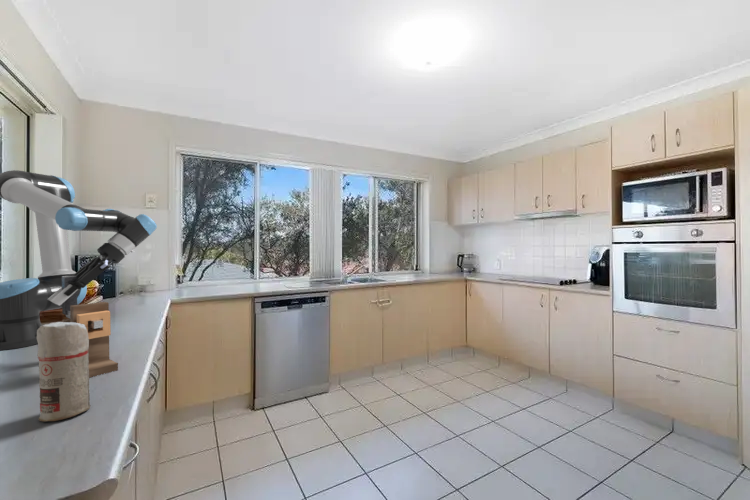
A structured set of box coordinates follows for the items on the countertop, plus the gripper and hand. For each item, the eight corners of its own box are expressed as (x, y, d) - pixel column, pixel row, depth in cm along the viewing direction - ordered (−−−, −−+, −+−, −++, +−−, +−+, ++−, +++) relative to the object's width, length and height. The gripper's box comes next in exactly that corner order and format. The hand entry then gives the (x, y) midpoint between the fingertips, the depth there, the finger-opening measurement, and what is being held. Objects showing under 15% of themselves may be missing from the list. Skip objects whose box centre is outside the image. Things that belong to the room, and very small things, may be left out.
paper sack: (31, 417, 70) (29, 323, 70) (79, 401, 78) (78, 316, 77) (48, 428, 66) (46, 328, 66) (97, 409, 74) (96, 320, 73)
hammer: (62, 316, 108) (61, 276, 108) (74, 315, 110) (73, 275, 110) (91, 329, 92) (91, 282, 92) (105, 326, 95) (104, 281, 95)
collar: (76, 339, 94) (76, 314, 93) (107, 333, 99) (107, 310, 99) (79, 340, 92) (79, 315, 92) (110, 335, 98) (110, 311, 98)
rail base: (51, 357, 107) (50, 298, 106) (83, 351, 113) (82, 295, 113) (82, 379, 90) (81, 309, 90) (117, 370, 97) (116, 305, 96)
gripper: (134, 256, 116) (72, 312, 103) (116, 255, 125) (57, 306, 112) (115, 241, 112) (48, 297, 98) (98, 241, 121) (35, 292, 107)
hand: (53, 302), depth 105 cm, fingers closed on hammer, 3 cm apart
